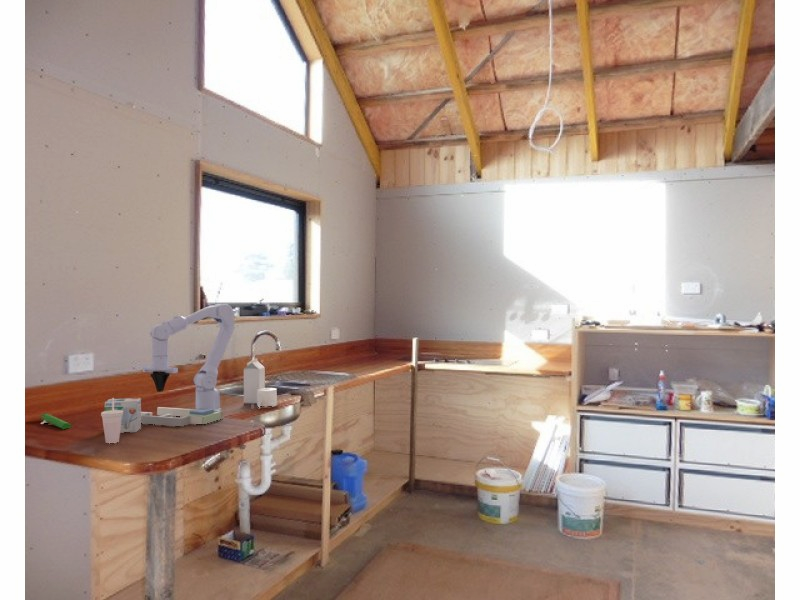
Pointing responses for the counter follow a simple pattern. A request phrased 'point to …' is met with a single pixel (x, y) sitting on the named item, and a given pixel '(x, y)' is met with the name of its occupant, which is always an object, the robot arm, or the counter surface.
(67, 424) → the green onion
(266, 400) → the toilet paper
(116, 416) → the smoothie
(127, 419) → the light bulb box
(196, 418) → the trap box
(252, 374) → the milk carton
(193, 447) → the counter surface
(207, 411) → the block
